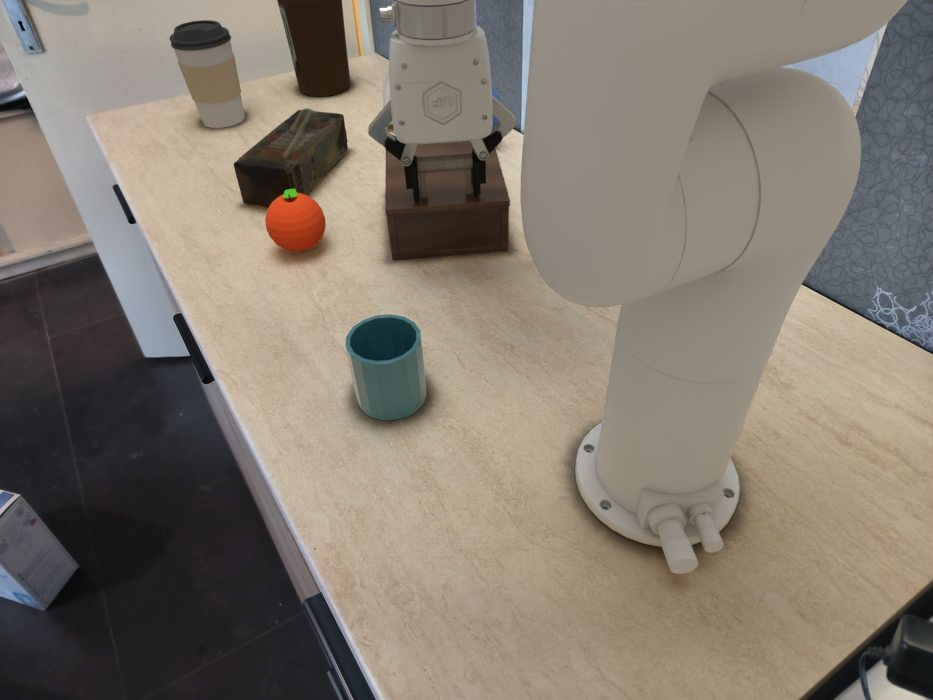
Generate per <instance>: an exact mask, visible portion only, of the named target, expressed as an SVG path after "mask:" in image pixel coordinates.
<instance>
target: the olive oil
mask: <svg viewBox="0 0 933 700" xmlns="http://www.w3.org/2000/svg"><path fill="white" fill-rule="evenodd" d="M276 1H277V5H278V9H279V13H280V17H281V20H282V25H283V28H284V33H285V37H286V40H287V45H288V48H289V53H290V56H291V60H292V65H293V69H294V73H295V77H296V82H297V86H298V90H299V92H300V93H301V94H303V95H306V96H311V97H329V96H335V95H338V94H342V93H344V92H345V91H347V90H349V88H351V73H350V65H349V58H348V49H347V48H348V47H347V39H346V29H345V28H346V27H345V19H344V7H343V0H276Z"/></svg>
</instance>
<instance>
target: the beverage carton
mask: <svg viewBox="0 0 933 700" xmlns="http://www.w3.org/2000/svg"><path fill="white" fill-rule="evenodd" d="M345 123H346V122H345V116H344V114H342V113H339V112H326V111H316V110H313V109H312V108H309V107H306V108H303V109H298V110H297V111H295V112H294V113H292V114H291V115H290V116H289V117H288V118H287V119H285V120H284V121H283V122H281V123H280V124H279V125H277V126H276V127H275V128H273V129H272V130H271V131H270V132H268V134H266V135H265V136H264V137H263V138H262V139H260V140H259V141H258V142H257V143H256V144H254V145H253V146H252V147H251V148H249V149H248V150H247V151H246V152H245V153H243V154H242V155H241V156H240V157H238V159H237V160H236V161H235V162H233V168H234V173H235V178H236V180H237V184H238V188H239V191H240V196H241V198H242V203H243V204H245V205H249V206H250V205H251V206H256V207H257V206H258V207H263V208H269V206H270V205H271V203H272V202H273V201H274V200H275V199H277V198H278V197H279V196H281V195H283V194H284V192H285V190H288V189H296V192H297V193H301V194H304V195H307V196H308V194H309V193H311V192H312V191H313V189H314V188H316V186H317V185H318V184H319V183H320V182H321V180H323V179H324V177H325V176H326V175H327V174H328V173H329V172H330V171H331V170H332V169H333V168H334V167H335V165H336V164H337V163H338V162H339V161H340V160H341V159H342V157H343V156H345V154H346V153H347V152H348V151H349V149H348V142H349V141H348V136H347V135H348V134H347V129H346V124H345Z"/></svg>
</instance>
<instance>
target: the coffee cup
mask: <svg viewBox="0 0 933 700" xmlns="http://www.w3.org/2000/svg"><path fill="white" fill-rule="evenodd" d="M231 39H232V35H231V34H230V31H229V29H228V28H227V27H224V26H222V24H221V23H220V22H219V21H217V20H211V19H210V20H209V19H207V20H206V19H203V20H193V21H188V22H184V23H181V24H178V25H177V26H175V27H174V29H173V33H172V34H171V35H170V36H169V41H170V47H171V48H173V51H174V53H175V56H176V58H177V64H178V66H179V67H178V68H179V69H180V72H181V75H182V76H183V77H182V78H183V79H184V82H185V84H186V86H187V89H188V92H189V94H190V97H191V99H192V101H193V102H194V104H195V106H196V109H197V112H198V114H199V117H200V119H201V122H202V125H203V126H204V127H207V128H211V129H222V128H223V129H224V128H229V127H234V126H236V125H239V124H240V123H242V122H243V121H244V120H245V119H246V115H245V110H244V109H245V108H244V105H243V100H242V89H241V83H240V78H239V74H238V69H237V62H236V58H235V57H236V56H235V53H234V52H233V48H232V42H231Z"/></svg>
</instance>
